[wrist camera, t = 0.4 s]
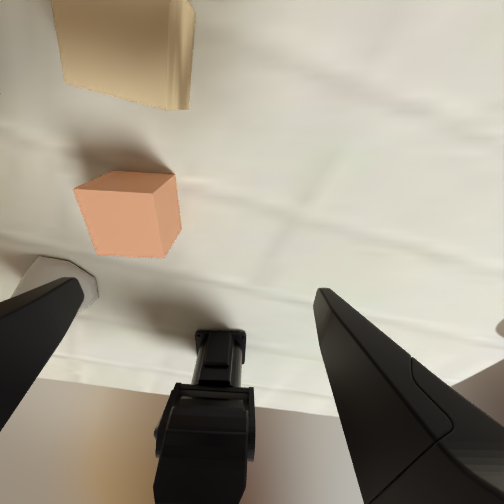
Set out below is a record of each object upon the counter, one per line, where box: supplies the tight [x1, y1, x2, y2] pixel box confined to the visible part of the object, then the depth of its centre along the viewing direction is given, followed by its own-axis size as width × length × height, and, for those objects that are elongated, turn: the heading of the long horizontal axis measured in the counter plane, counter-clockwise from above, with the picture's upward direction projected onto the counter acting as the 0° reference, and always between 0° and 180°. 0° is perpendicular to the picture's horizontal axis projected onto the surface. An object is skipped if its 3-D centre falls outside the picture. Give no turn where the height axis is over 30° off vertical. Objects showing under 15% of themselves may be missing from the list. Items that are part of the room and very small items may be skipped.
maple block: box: [51, 0, 196, 110], centre depth 12 cm, size 5×5×5 cm
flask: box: [11, 256, 99, 314], centre depth 21 cm, size 7×7×10 cm
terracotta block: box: [73, 171, 182, 258], centre depth 18 cm, size 5×5×5 cm
